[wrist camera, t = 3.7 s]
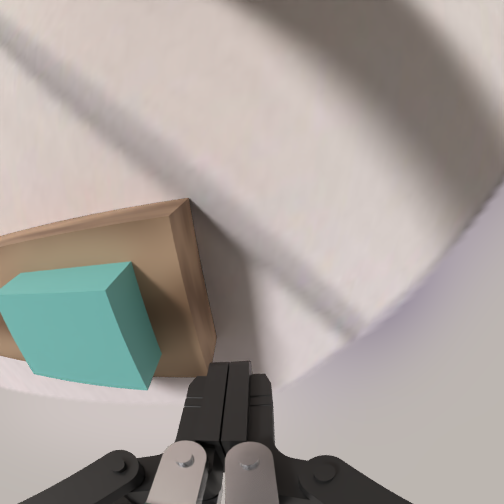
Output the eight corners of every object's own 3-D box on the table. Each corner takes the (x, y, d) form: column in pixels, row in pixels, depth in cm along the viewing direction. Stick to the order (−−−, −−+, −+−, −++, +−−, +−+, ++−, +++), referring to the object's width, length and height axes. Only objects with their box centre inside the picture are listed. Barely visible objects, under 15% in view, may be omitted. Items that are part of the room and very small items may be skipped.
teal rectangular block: (20, 273, 14) (-8, 294, 12) (131, 261, 14) (105, 290, 11) (53, 347, 17) (34, 374, 14) (161, 353, 16) (147, 390, 13)
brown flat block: (-20, 241, 18) (-48, 258, 14) (188, 197, 17) (168, 215, 13) (16, 332, 22) (-5, 354, 18) (217, 337, 20) (209, 377, 17)
